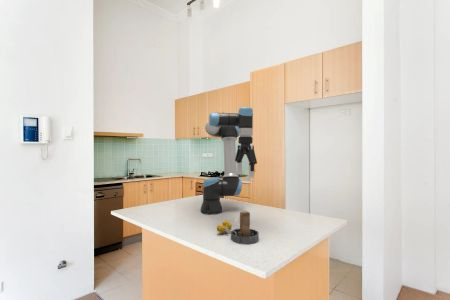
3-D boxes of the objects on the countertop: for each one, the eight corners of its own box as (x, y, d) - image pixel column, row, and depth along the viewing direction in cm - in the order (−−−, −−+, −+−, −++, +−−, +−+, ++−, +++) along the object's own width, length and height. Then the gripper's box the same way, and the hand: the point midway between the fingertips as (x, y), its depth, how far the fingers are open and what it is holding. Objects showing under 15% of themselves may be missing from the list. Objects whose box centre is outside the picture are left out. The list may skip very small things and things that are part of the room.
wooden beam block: (239, 236, 118) (239, 211, 118) (246, 235, 120) (246, 211, 120) (243, 238, 115) (243, 213, 115) (249, 237, 116) (249, 212, 117)
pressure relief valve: (213, 232, 124) (226, 228, 132) (232, 242, 116) (244, 236, 124) (215, 222, 123) (227, 218, 131) (233, 231, 116) (245, 226, 124)
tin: (226, 236, 121) (226, 229, 121) (249, 232, 126) (249, 226, 126) (239, 245, 109) (239, 238, 109) (263, 241, 114) (263, 234, 114)
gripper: (229, 136, 141) (229, 173, 142) (250, 135, 118) (250, 179, 119) (241, 137, 144) (240, 172, 145) (264, 135, 121) (263, 178, 122)
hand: (245, 175), depth 132 cm, fingers open, 13 cm apart
